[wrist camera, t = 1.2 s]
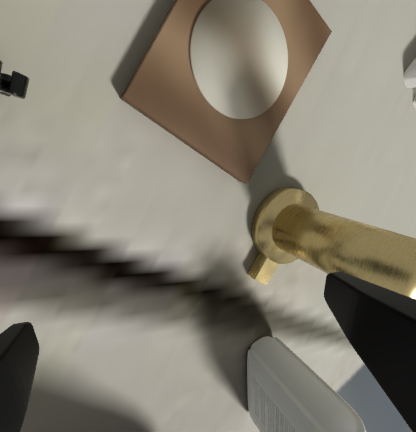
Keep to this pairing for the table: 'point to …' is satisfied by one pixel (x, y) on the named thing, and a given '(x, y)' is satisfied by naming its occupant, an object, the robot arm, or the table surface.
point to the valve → (13, 84)
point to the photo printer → (292, 394)
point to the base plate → (227, 74)
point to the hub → (329, 243)
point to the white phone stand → (411, 77)
